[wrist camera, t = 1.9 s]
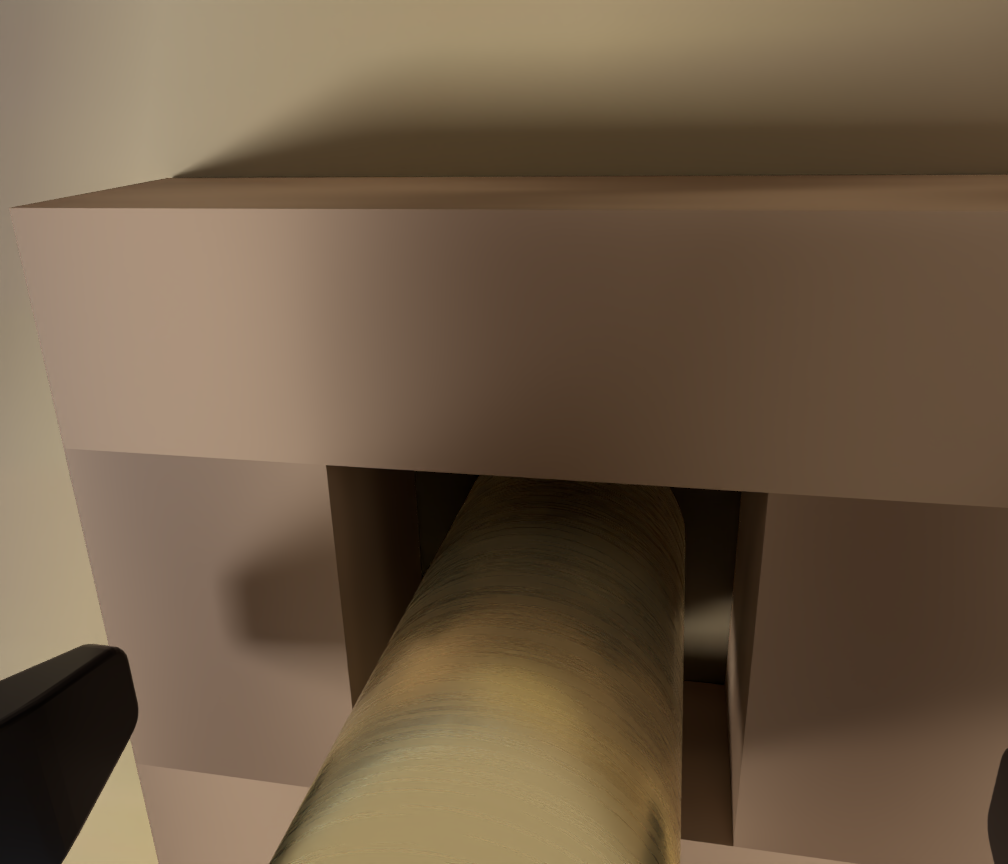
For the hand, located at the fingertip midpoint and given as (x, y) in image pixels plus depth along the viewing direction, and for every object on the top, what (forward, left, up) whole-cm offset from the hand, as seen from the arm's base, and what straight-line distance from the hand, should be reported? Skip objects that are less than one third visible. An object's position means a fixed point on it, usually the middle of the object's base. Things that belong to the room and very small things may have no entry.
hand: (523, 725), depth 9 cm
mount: (0, 0, -4) cm, 4 cm away
